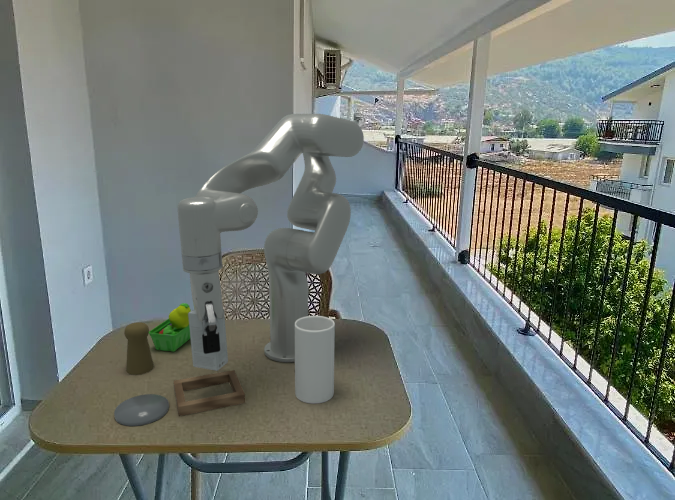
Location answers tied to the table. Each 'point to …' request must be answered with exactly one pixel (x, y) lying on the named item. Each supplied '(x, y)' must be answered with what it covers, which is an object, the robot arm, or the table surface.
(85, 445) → the table surface
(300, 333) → the cup
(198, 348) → the skincare box
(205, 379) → the walnut holder
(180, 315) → the fruit basket
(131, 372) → the cork
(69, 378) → the table surface
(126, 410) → the slate coaster
